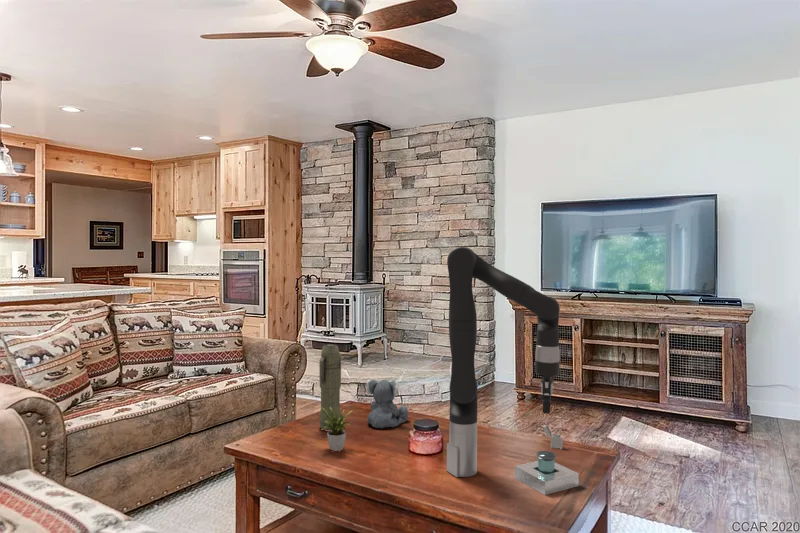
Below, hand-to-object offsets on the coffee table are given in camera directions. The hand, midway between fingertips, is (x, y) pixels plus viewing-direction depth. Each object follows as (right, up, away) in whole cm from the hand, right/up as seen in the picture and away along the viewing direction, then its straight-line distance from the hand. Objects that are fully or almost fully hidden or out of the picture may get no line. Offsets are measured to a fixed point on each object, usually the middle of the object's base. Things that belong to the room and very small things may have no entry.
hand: (546, 409), depth 172 cm
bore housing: (0, -23, 0) cm, 23 cm away
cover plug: (0, -23, 0) cm, 23 cm away
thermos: (-76, -22, +53) cm, 96 cm away
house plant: (-72, -23, +28) cm, 81 cm away
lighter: (+11, -23, +32) cm, 41 cm away
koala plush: (-54, -22, +60) cm, 83 cm away
